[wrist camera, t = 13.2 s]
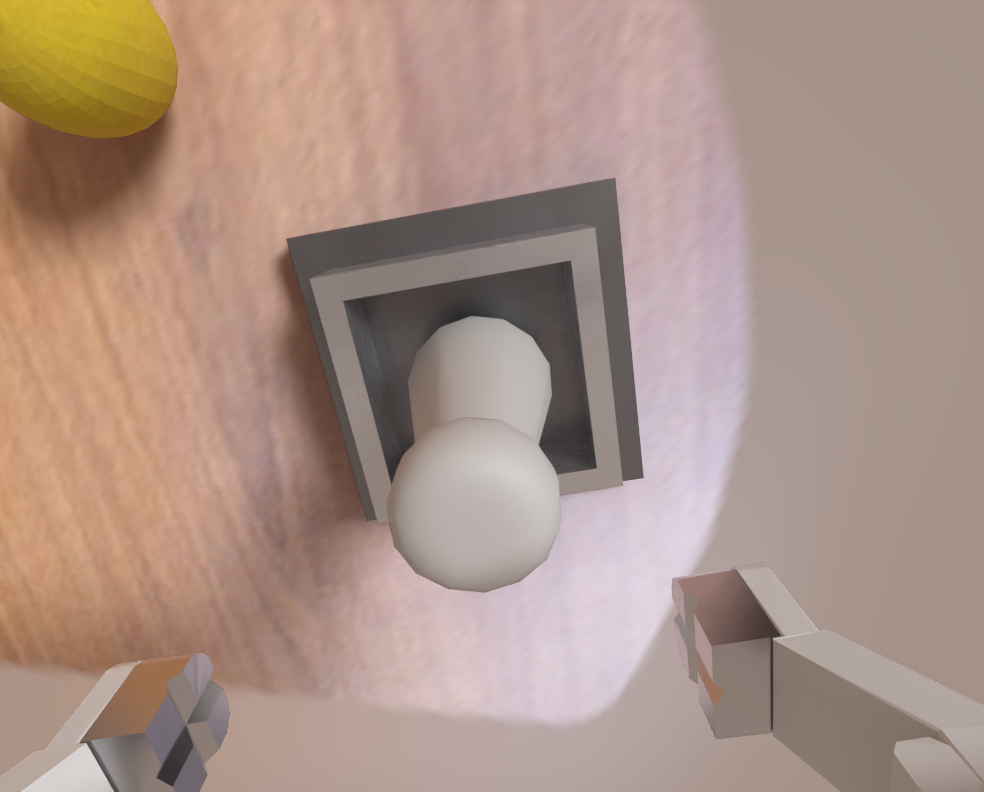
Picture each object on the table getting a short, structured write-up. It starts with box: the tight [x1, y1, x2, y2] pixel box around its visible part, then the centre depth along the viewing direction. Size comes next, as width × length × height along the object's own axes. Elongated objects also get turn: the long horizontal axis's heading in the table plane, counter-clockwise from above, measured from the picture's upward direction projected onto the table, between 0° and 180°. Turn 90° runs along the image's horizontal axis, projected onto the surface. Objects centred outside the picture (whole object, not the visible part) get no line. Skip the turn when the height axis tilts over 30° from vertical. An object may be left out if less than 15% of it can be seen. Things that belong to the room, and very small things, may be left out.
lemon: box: [0, 0, 178, 138], centre depth 19 cm, size 6×6×8 cm
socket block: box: [286, 178, 643, 524], centre depth 24 cm, size 14×14×4 cm
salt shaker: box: [387, 316, 561, 592], centre depth 19 cm, size 6×6×13 cm
